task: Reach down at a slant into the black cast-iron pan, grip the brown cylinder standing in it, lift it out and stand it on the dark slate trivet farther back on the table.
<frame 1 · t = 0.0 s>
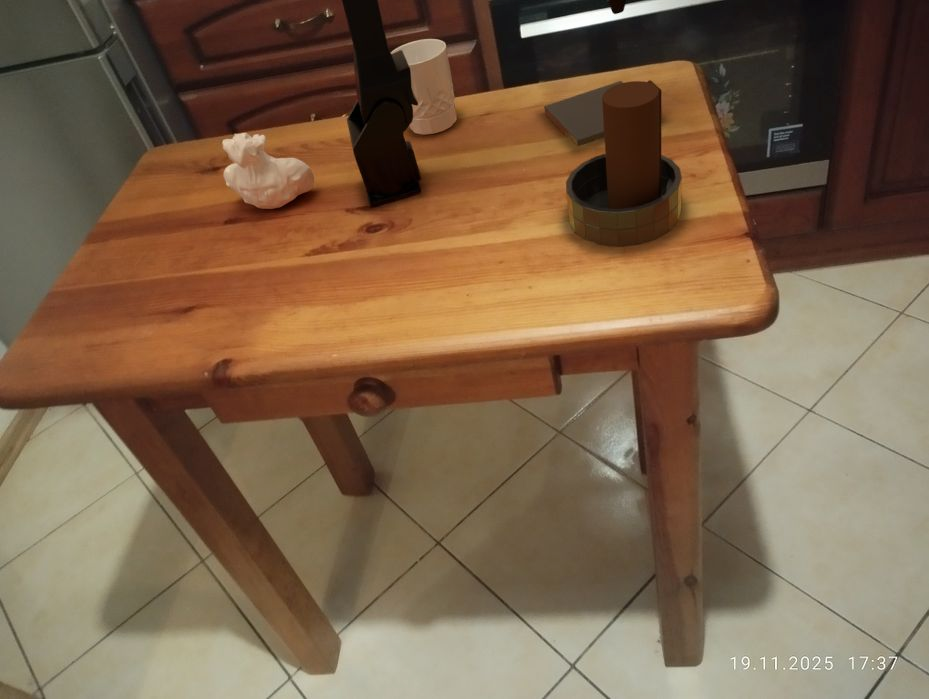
hand: (602, 0, 75), 15 cm above the table, tool pointing down, fingers open, 9 cm apart
white cup: (434, 124, 95), on the table
slate trivet: (600, 117, 86), on the table
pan: (624, 216, 71), on the table
brown cylinder: (633, 214, 70), resting on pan
white lumpy figure: (277, 203, 88), on the table
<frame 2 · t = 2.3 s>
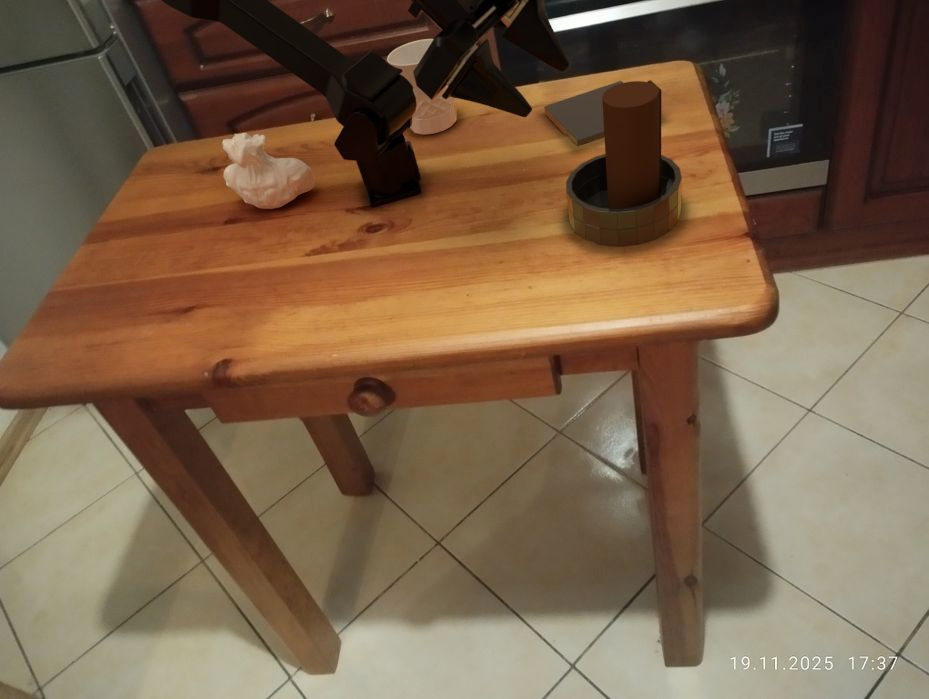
hand: (548, 89, 65), 13 cm above the table, tool tilted 45°, fingers open, 9 cm apart
nothing on the table moved.
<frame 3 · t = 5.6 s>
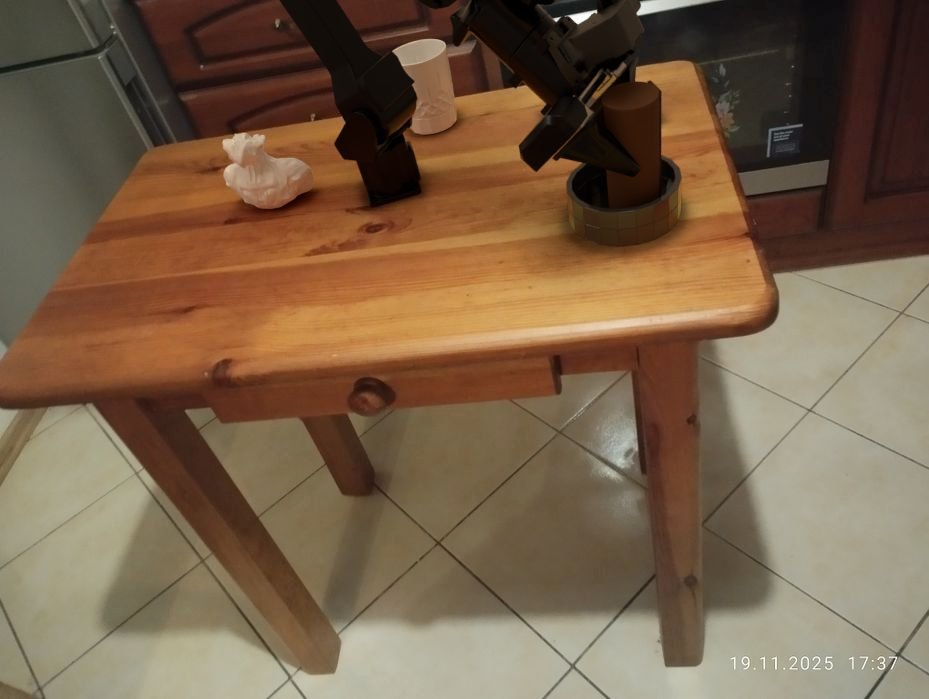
hand: (647, 157, 64), 7 cm above the table, tool tilted 45°, fingers closed on brown cylinder, 5 cm apart
brown cylinder: (634, 212, 70), point 1 cm above the table, touching gripper, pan
everything else where it was.
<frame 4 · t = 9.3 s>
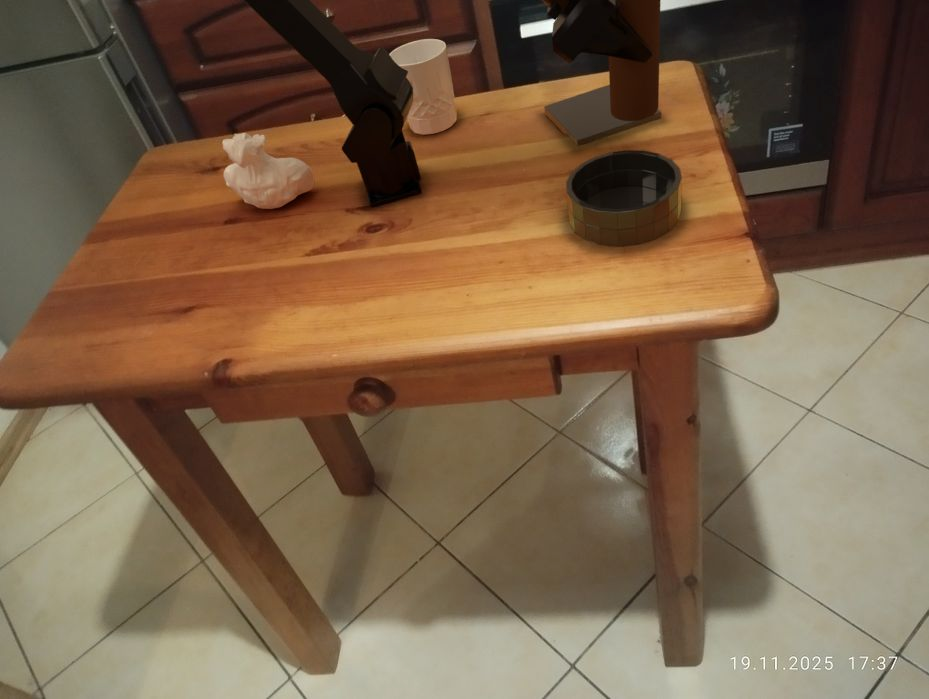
hand: (647, 45, 68), 13 cm above the table, tool tilted 45°, fingers closed on brown cylinder, 5 cm apart
brown cylinder: (634, 109, 73), point 6 cm above the table, touching gripper
everything else where it was.
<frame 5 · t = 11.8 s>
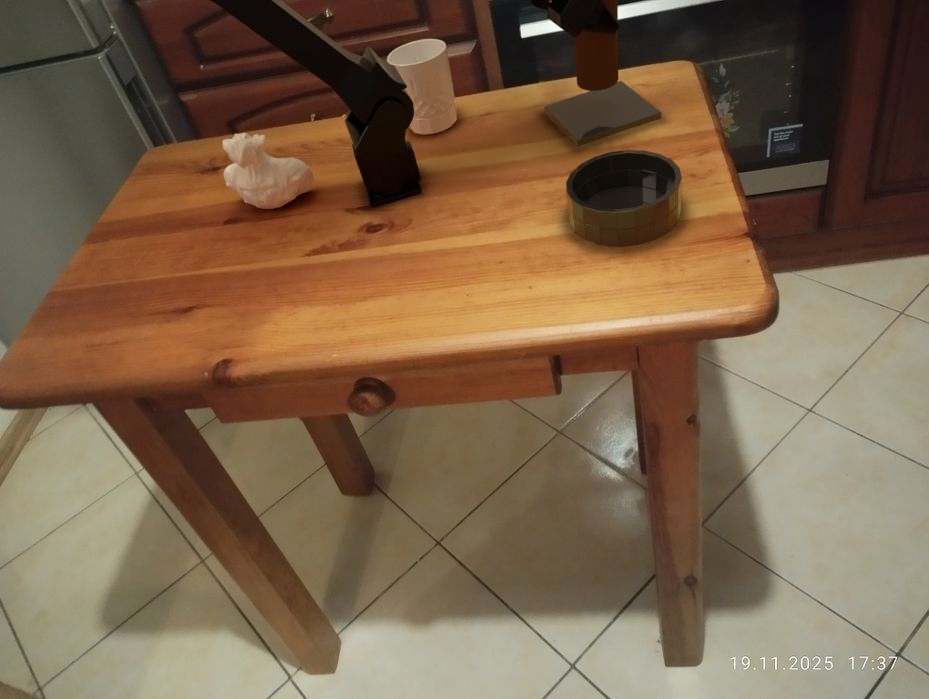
hand: (605, 22, 78), 11 cm above the table, tool tilted 45°, fingers closed on brown cylinder, 5 cm apart
brown cylinder: (597, 81, 83), point 5 cm above the table, touching gripper
everything else where it was.
when the fingers open (8 cm above the table, at t = 13.3 s): brown cylinder stays where it is, resting on slate trivet.
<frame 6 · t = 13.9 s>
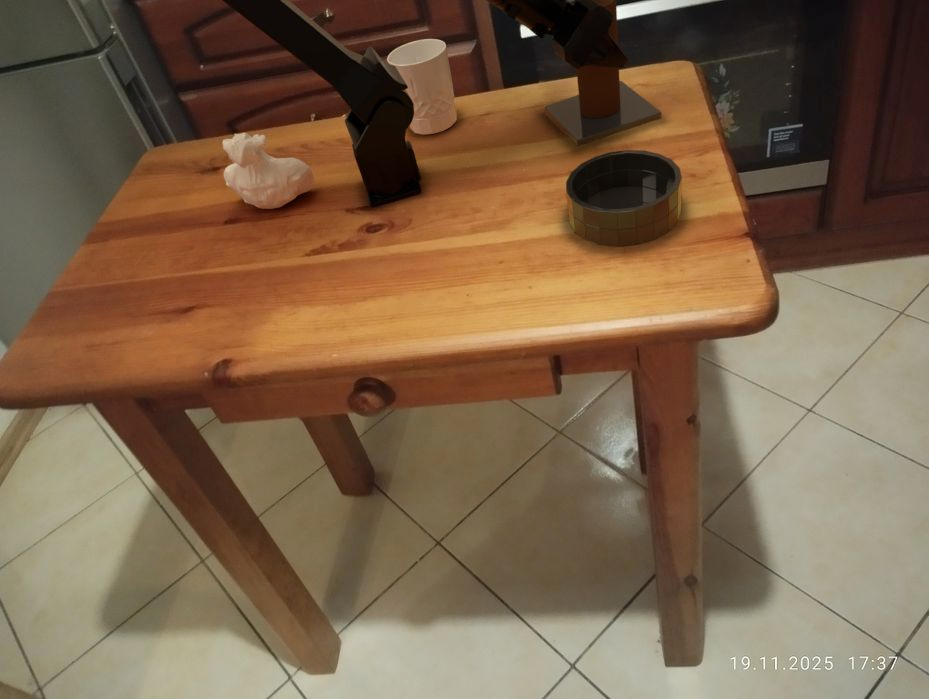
hand: (607, 50, 81), 8 cm above the table, tool tilted 45°, fingers open, 9 cm apart
brown cylinder: (600, 109, 85), point 1 cm above the table, touching slate trivet
everything else where it was.
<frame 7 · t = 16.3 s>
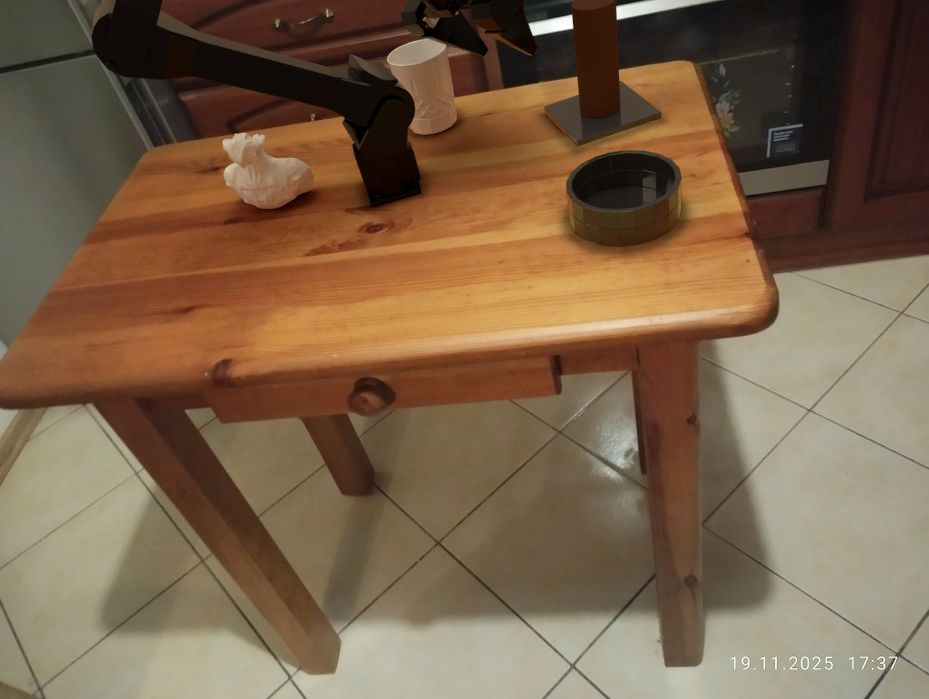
hand: (509, 52, 79), 11 cm above the table, tool tilted 35°, fingers open, 9 cm apart
nothing on the table moved.
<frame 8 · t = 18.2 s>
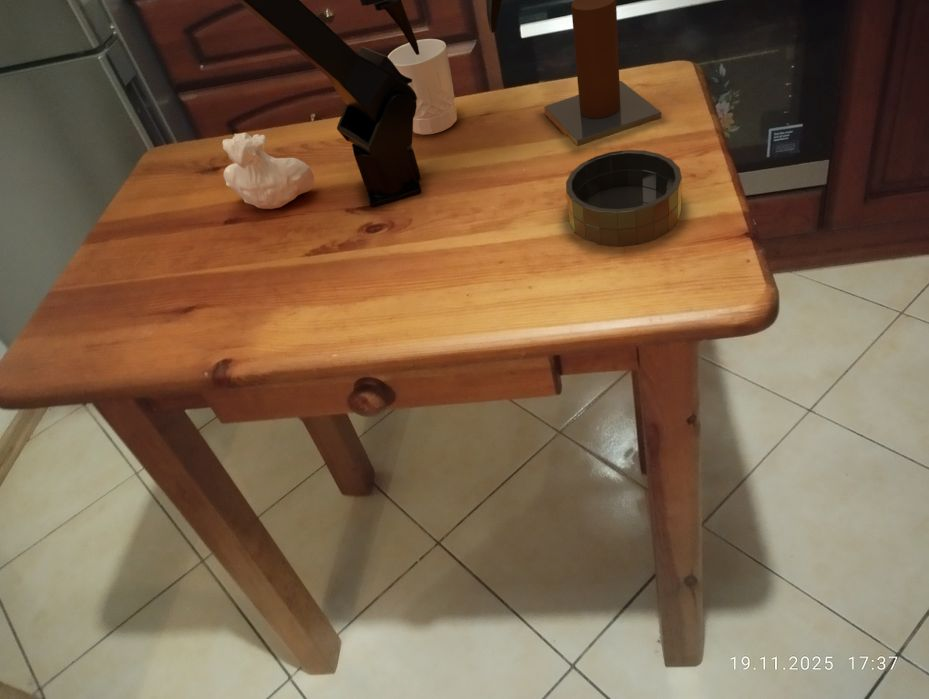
hand: (455, 42, 79), 13 cm above the table, tool pointing down, fingers open, 9 cm apart
nothing on the table moved.
at the end: brown cylinder inside the target area on the slate trivet (0.0 cm from its centre), point 1.2 cm above the slate trivet's base; brown cylinder touching slate trivet; the gripper is holding nothing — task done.
